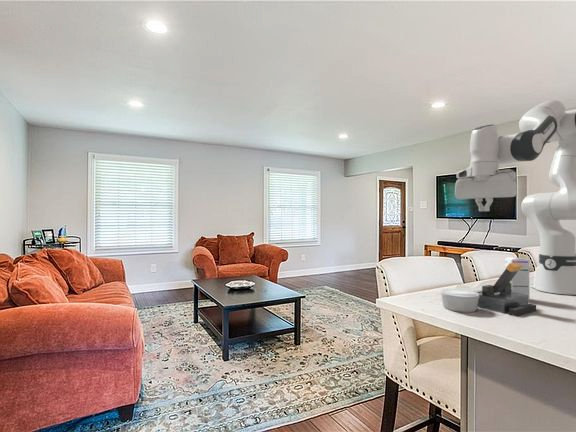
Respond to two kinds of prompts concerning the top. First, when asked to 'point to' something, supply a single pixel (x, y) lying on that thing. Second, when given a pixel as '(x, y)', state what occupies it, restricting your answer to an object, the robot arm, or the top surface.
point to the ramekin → (459, 300)
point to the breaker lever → (506, 277)
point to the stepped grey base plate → (500, 299)
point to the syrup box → (520, 276)
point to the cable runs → (522, 310)
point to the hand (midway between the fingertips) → (484, 211)
